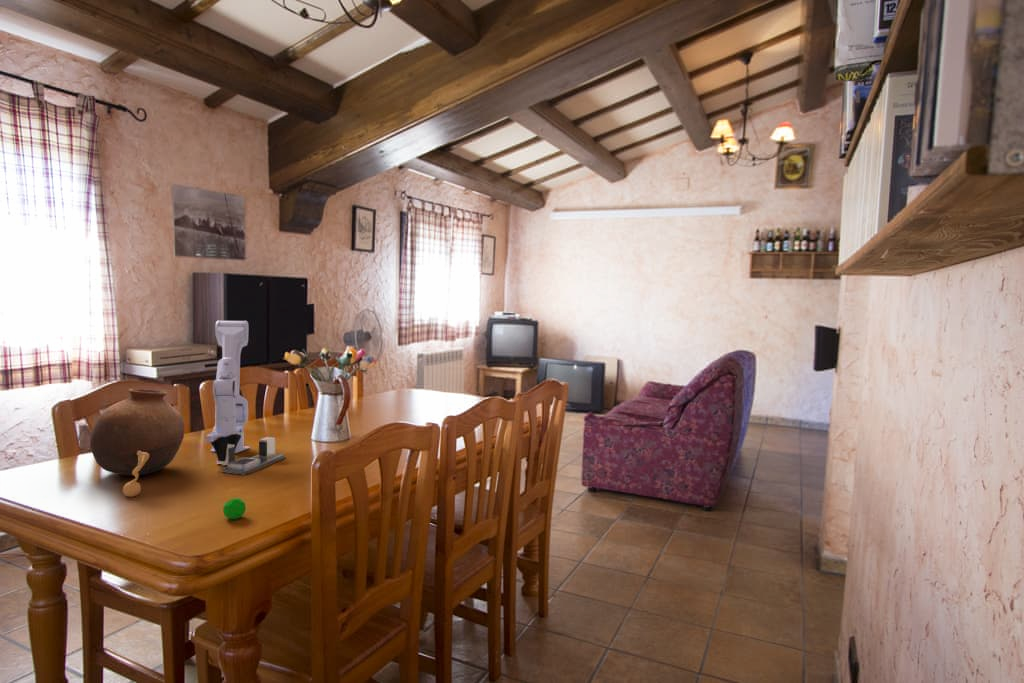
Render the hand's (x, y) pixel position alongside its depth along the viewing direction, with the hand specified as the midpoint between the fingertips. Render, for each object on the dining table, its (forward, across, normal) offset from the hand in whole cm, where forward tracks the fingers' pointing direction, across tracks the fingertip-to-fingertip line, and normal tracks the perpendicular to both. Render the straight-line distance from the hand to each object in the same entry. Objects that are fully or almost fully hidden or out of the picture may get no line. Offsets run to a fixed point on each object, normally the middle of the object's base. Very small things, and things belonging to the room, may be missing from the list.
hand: (225, 459), depth 188 cm
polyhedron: (+2, -37, -33) cm, 50 cm away
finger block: (+1, 0, 0) cm, 1 cm away
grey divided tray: (+1, +2, -9) cm, 9 cm away
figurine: (+2, -32, +1) cm, 32 cm away
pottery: (+2, -16, +16) cm, 23 cm away
